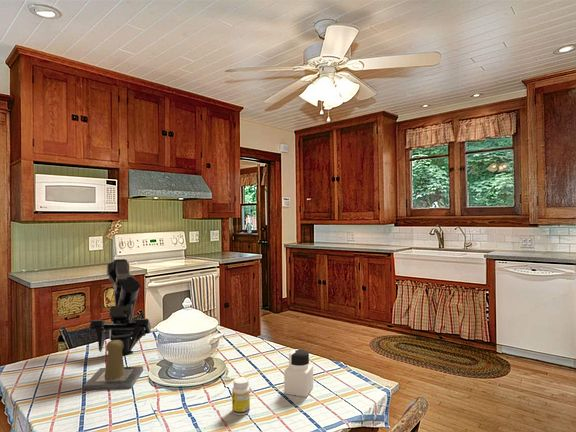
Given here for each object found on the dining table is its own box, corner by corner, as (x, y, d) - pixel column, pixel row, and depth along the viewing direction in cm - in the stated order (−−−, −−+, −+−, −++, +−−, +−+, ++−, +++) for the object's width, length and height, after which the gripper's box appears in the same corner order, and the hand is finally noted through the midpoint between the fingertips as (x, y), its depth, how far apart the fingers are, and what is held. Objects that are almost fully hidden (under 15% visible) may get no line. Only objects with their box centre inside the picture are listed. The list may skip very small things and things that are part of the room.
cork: (128, 371, 125) (128, 338, 125) (118, 379, 119) (118, 344, 119) (111, 370, 126) (111, 337, 126) (100, 378, 120) (100, 343, 120)
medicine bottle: (313, 387, 117) (313, 348, 117) (306, 397, 110) (306, 356, 110) (291, 384, 119) (291, 346, 119) (283, 394, 112) (284, 353, 113)
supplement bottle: (232, 407, 104) (232, 376, 104) (249, 406, 105) (250, 376, 105) (231, 416, 99) (231, 384, 100) (249, 415, 100) (249, 383, 100)
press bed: (100, 372, 128) (100, 367, 128) (143, 370, 130) (143, 365, 130) (83, 390, 114) (83, 385, 114) (131, 388, 116) (131, 382, 116)
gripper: (91, 296, 126) (76, 339, 115) (149, 295, 129) (140, 337, 117) (100, 313, 134) (87, 356, 123) (154, 312, 136) (146, 353, 125)
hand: (114, 350), depth 122 cm, fingers open, 9 cm apart
